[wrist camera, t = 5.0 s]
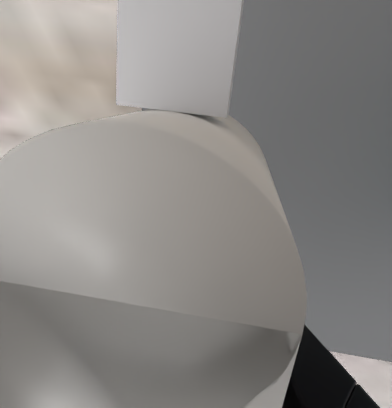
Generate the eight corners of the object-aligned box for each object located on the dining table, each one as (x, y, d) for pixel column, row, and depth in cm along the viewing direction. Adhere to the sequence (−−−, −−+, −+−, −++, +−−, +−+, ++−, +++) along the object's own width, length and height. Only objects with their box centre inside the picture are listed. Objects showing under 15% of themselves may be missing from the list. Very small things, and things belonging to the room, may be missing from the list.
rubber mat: (433, 362, 21) (438, 370, 20) (135, 310, 22) (133, 315, 22) (655, -105, 12) (676, -114, 12) (156, -130, 14) (152, -140, 14)
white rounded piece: (230, 394, 11) (221, 620, 6) (107, 370, 11) (14, 567, 7) (307, -1, 7) (451, -198, 2) (111, -17, 7) (-125, -214, 3)
